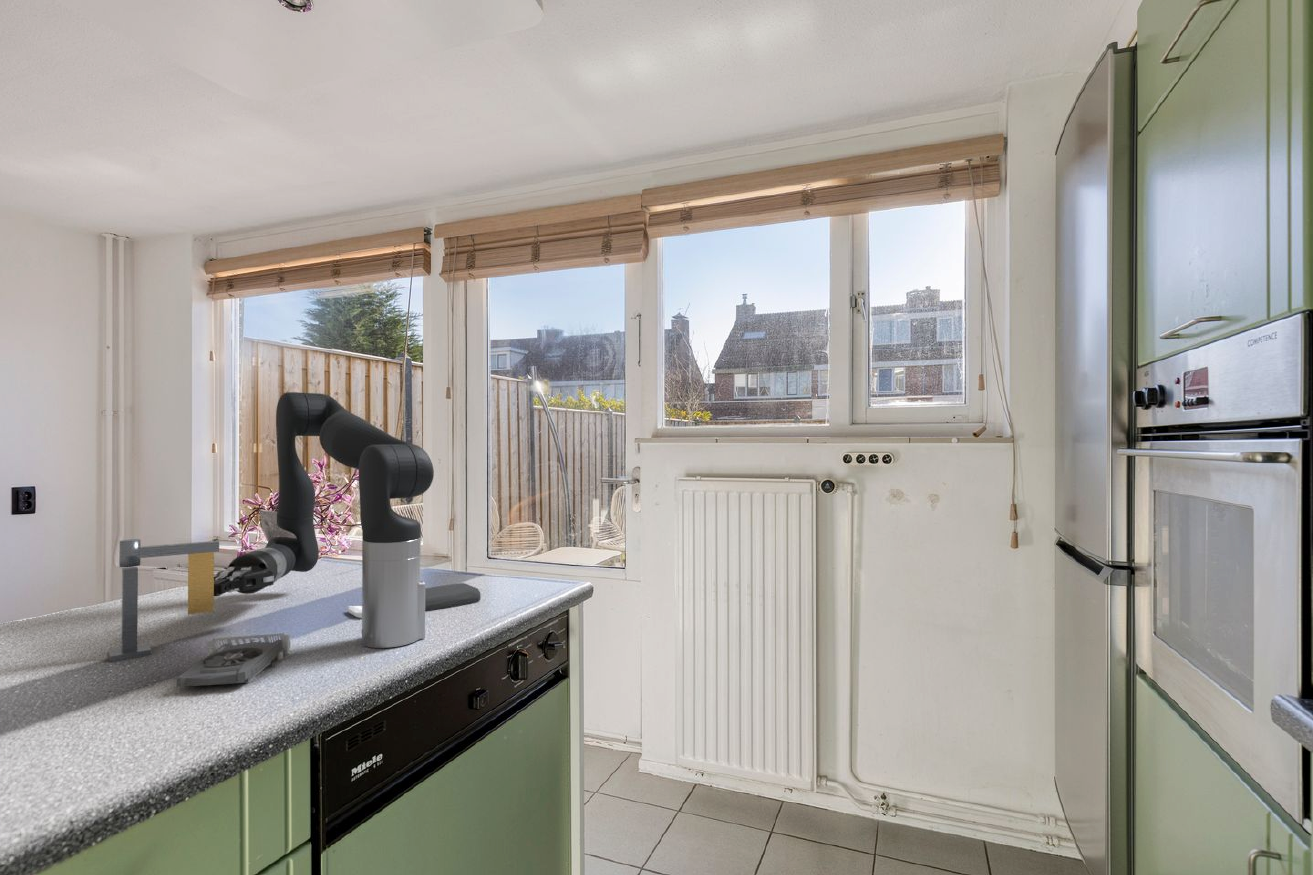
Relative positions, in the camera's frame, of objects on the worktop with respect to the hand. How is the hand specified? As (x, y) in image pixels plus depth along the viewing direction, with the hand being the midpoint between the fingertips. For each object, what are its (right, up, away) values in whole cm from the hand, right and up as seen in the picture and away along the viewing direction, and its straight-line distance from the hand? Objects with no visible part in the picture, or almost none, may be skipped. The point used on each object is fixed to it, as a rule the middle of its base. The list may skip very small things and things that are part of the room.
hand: (211, 590), depth 111 cm
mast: (-8, -8, -7) cm, 14 cm away
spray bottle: (+26, -9, +23) cm, 36 cm away
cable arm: (-4, -3, -4) cm, 7 cm away
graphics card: (+12, -9, -15) cm, 21 cm away
